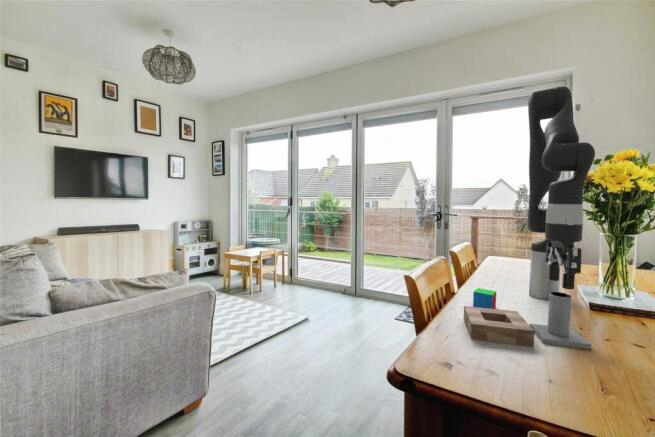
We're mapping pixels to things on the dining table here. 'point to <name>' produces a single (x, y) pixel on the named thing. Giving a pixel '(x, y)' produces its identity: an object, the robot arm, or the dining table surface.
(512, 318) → the socket block
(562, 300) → the grey hollow tube
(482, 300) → the puzzle toy
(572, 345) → the coaster
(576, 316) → the dining table surface
